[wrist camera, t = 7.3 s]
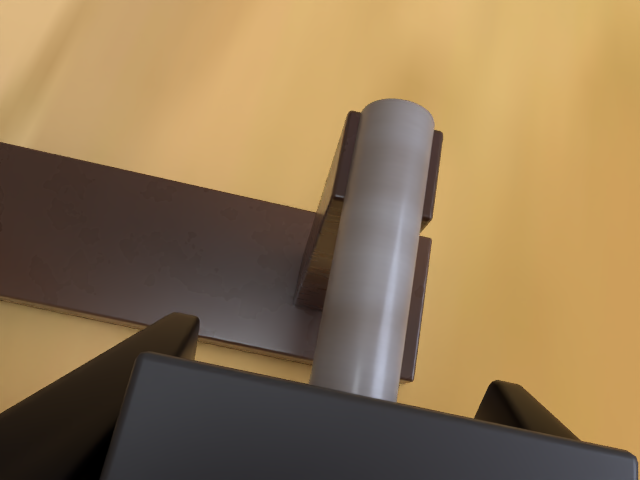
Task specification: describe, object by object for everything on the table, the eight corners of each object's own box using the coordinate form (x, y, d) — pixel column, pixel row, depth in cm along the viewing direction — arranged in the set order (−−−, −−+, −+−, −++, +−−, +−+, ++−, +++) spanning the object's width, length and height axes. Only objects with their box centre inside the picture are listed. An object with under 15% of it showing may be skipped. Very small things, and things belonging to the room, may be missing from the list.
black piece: (512, 537, 11) (894, 694, 5) (69, 450, 11) (-215, 485, 4) (517, 459, 12) (868, 500, 5) (94, 372, 11) (-124, 293, 5)
